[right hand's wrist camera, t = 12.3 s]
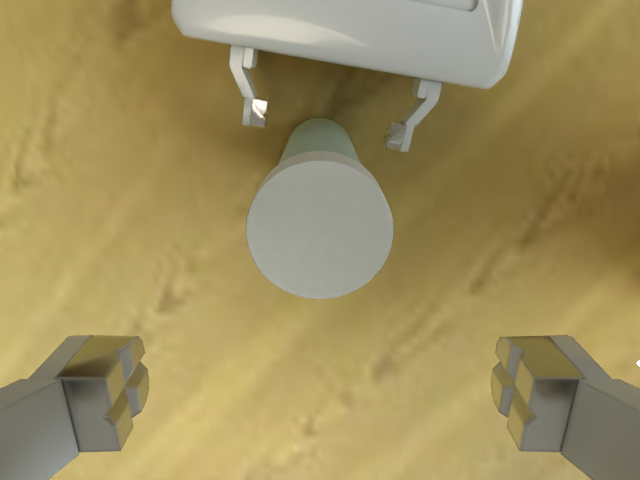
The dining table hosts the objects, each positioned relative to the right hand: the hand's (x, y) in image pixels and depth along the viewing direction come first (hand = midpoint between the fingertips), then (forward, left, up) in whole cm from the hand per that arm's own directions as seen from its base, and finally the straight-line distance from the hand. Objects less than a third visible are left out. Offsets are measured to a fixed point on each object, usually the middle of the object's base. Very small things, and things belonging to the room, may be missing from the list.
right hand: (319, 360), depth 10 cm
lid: (0, 0, -9) cm, 9 cm away
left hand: (0, -2, -22) cm, 22 cm away
